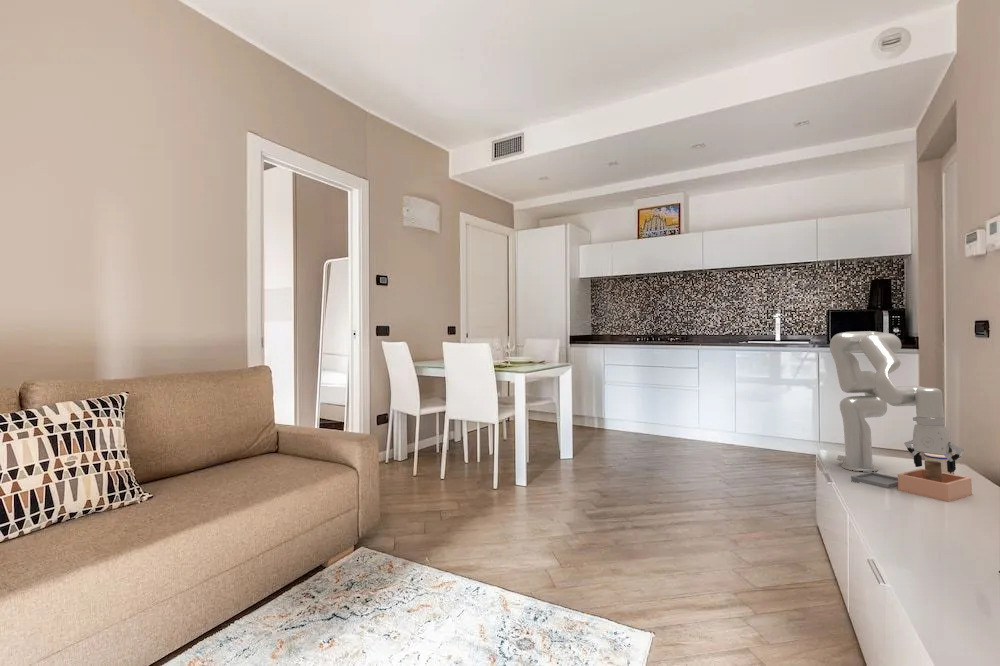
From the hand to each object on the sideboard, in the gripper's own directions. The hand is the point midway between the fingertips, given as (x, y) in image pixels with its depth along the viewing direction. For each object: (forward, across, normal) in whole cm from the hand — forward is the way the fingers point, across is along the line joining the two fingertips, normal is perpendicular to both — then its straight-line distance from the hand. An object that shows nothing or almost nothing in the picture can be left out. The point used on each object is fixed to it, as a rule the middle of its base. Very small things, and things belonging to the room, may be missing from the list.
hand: (934, 469), depth 174 cm
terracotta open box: (+9, -1, 0) cm, 9 cm away
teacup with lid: (+9, -12, +27) cm, 31 cm away
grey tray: (+9, -18, -2) cm, 20 cm away
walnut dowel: (+8, -1, 0) cm, 9 cm away
